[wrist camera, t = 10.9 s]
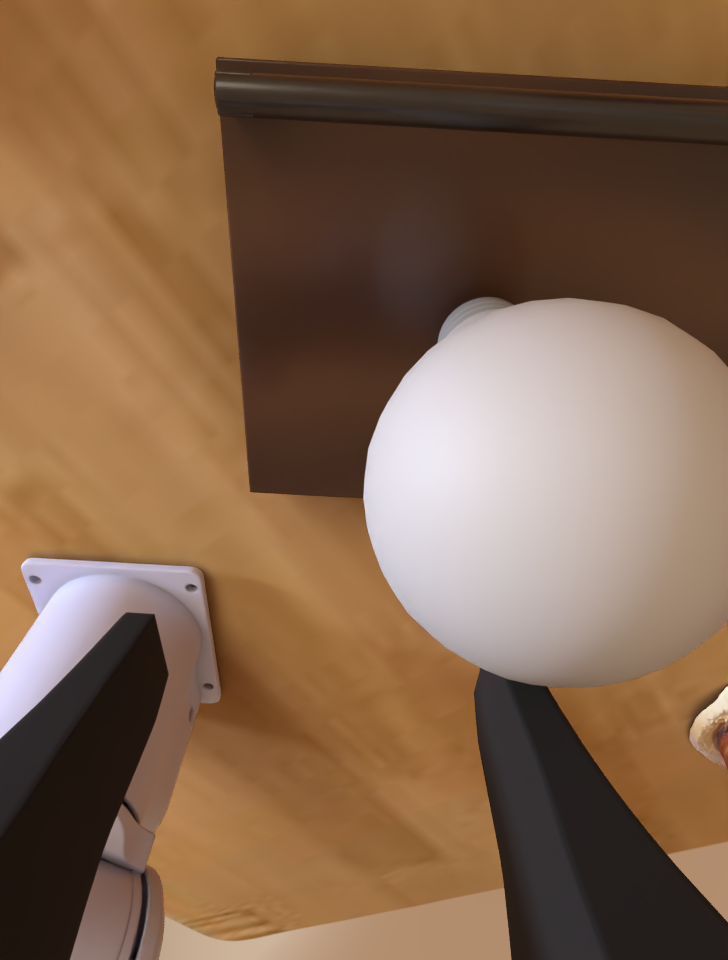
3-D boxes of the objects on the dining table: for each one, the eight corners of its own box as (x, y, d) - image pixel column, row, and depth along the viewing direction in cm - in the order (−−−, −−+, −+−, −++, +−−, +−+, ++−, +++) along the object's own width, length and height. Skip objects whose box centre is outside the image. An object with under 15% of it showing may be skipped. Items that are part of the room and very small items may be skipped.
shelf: (650, 473, 22) (705, 547, 18) (264, 451, 21) (240, 521, 18) (799, 98, 15) (935, 93, 11) (241, 65, 15) (194, 50, 11)
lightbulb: (352, 241, 15) (301, 459, 5) (593, 193, 14) (1010, 352, 5) (390, 441, 18) (398, 788, 9) (586, 411, 17) (823, 758, 8)
